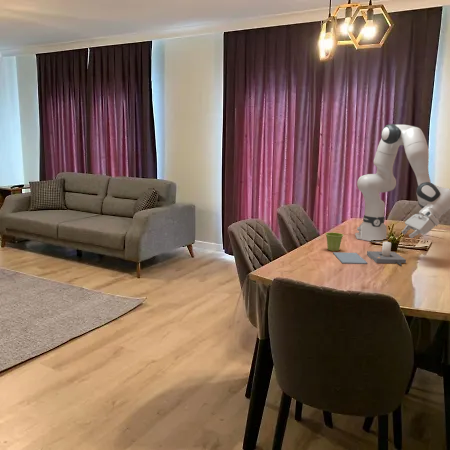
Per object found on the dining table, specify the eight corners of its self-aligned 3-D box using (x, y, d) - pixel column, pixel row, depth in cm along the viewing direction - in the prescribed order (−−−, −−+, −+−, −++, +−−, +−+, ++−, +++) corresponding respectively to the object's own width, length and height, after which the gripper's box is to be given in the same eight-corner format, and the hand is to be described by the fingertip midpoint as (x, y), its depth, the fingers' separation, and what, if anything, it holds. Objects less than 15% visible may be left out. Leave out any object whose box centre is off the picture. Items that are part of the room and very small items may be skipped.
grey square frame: (366, 255, 244) (367, 250, 244) (394, 255, 244) (394, 251, 244) (379, 265, 224) (380, 261, 223) (409, 266, 224) (409, 261, 223)
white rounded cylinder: (379, 258, 239) (380, 241, 237) (388, 258, 239) (390, 241, 237) (382, 260, 234) (383, 243, 233) (391, 260, 234) (393, 243, 233)
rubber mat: (333, 253, 246) (333, 252, 246) (356, 253, 246) (356, 252, 246) (342, 263, 227) (342, 262, 226) (367, 264, 227) (367, 262, 226)
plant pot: (343, 248, 257) (344, 233, 255) (341, 252, 248) (342, 236, 247) (325, 247, 260) (326, 231, 258) (323, 251, 251) (324, 235, 250)
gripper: (415, 208, 242) (394, 226, 244) (432, 214, 222) (410, 234, 224) (423, 217, 243) (402, 235, 245) (441, 224, 223) (418, 244, 225)
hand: (406, 235), depth 234 cm, fingers open, 8 cm apart
